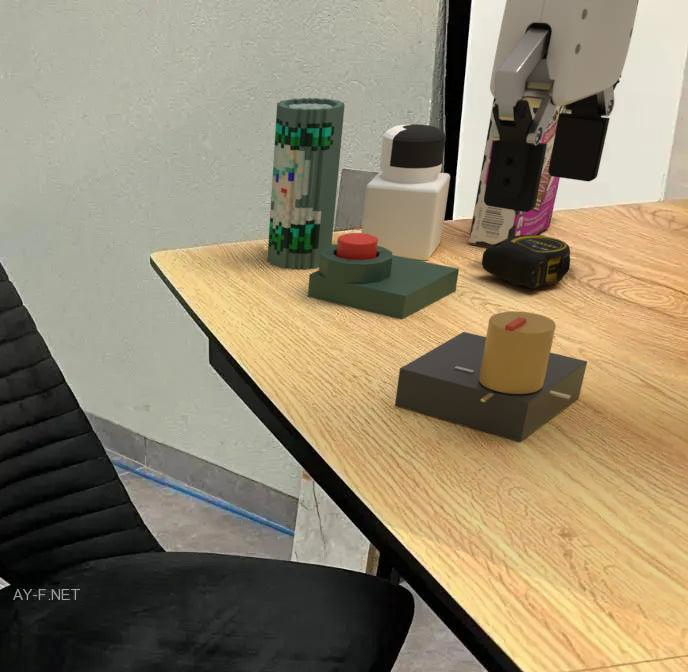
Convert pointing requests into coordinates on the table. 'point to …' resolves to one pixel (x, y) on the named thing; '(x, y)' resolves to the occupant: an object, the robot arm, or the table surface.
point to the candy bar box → (506, 223)
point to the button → (357, 246)
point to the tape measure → (528, 260)
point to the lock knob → (516, 352)
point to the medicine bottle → (408, 192)
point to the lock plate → (484, 390)
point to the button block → (381, 282)
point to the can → (304, 181)
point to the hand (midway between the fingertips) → (541, 192)
